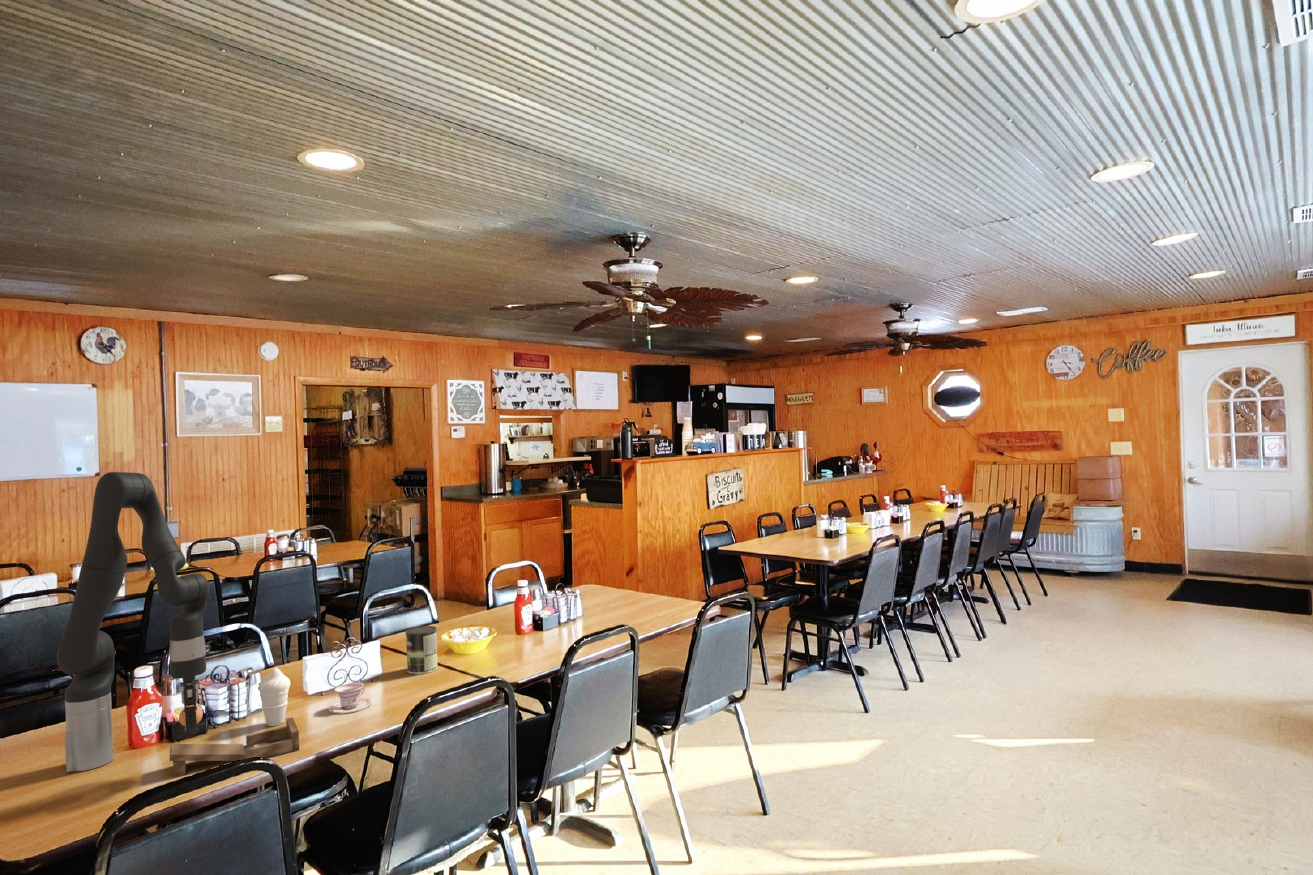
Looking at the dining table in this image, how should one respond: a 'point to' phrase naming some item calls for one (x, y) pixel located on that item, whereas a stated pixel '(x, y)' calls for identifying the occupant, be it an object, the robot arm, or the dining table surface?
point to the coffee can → (421, 650)
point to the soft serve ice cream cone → (274, 696)
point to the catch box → (273, 741)
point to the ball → (198, 716)
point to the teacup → (349, 698)
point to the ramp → (203, 754)
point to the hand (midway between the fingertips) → (191, 723)
